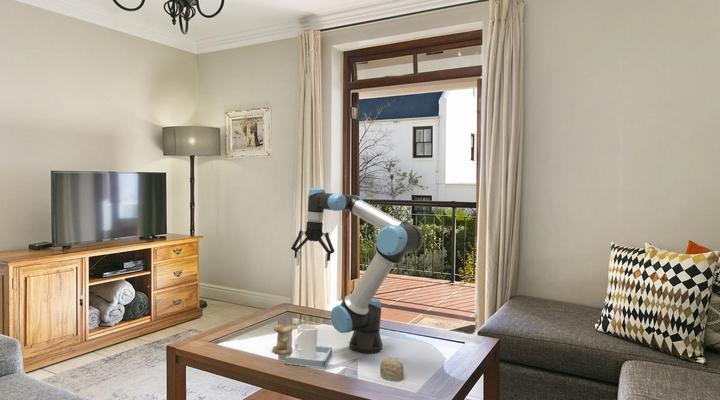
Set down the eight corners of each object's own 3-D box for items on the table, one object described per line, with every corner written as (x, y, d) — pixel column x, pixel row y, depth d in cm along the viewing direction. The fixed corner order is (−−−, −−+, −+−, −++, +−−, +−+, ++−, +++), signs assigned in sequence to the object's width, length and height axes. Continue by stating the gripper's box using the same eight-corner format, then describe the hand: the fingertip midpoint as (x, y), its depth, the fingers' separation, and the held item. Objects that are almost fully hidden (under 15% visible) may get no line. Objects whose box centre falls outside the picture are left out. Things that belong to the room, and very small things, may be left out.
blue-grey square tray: (331, 354, 193) (332, 347, 193) (324, 369, 176) (324, 361, 176) (295, 350, 195) (296, 343, 195) (284, 364, 178) (285, 357, 178)
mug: (300, 363, 179) (302, 333, 179) (285, 357, 184) (287, 328, 184) (320, 356, 188) (322, 327, 188) (305, 350, 193) (307, 323, 193)
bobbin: (293, 349, 197) (294, 325, 197) (288, 355, 189) (289, 330, 189) (275, 347, 198) (277, 323, 198) (269, 353, 190) (271, 328, 190)
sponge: (385, 381, 179) (372, 360, 178) (405, 368, 179) (393, 347, 179) (388, 391, 169) (375, 369, 169) (410, 377, 170) (397, 355, 170)
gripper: (342, 222, 212) (339, 267, 212) (290, 218, 214) (287, 263, 214) (339, 223, 204) (336, 270, 204) (286, 219, 207) (283, 265, 207)
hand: (311, 266), depth 209 cm, fingers open, 13 cm apart
